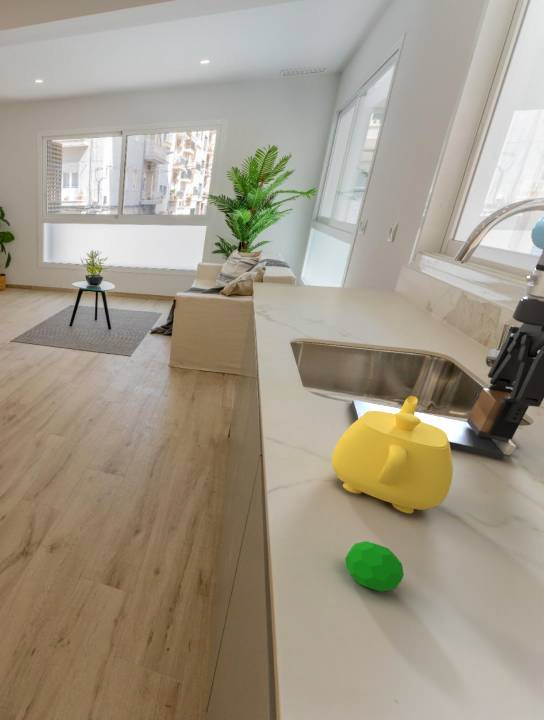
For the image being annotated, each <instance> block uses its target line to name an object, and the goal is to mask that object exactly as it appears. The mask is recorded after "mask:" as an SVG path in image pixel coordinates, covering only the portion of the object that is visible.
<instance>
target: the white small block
mask: <svg viewBox="0 0 544 720" xmlns="http://www.w3.org/2000/svg"><path fill="white" fill-rule="evenodd" d="M494 442H495V444H496V445H497V446H498V447H499V448H500V450H501V451H502V452H503V453H504V454H503V455H507V456H510V455H511V454H512V453H513V452H514V451H515V450H516V449H517V448H518V447H517V446H516V444H515V443H514V442H513V441H512V439H510V440H509V441H508V443H507V442H503V441H498V440H497V441H496V440H495V441H494Z"/></svg>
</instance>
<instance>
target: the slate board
mask: <svg viewBox="0 0 544 720" xmlns="http://www.w3.org/2000/svg"><path fill="white" fill-rule="evenodd" d="M350 406H351V410H352V414H353V418H354V422H356V421H357V420H358V419H359V418H360V417H361V416H362V415H364V414H365V413H366V412H368V411H372V410H374V411H383V412H388V413H393V414H395V413H397V412H399V411H400V410H401V408H398V407H397V408H396V407H392V406H386V405H382V404H377V403H372V402H367V401H362V400H357V399H352V401H351V404H350ZM415 416H417V417H418V418H420V419H421V421H422V422H425V423H428V424H431V425H433V426H436V427H438V428H440V429H442V430H443V431H444V432H445V433H446V434H447V436H448V440H449V444H450V449H451V450H454V451H459V452H463V453H468V454H472V455H476V456H481V457H485V458H490V459H494V460H498V461H502V458H503V457H504V455H505V454H504V453H503V452H502V451H501V450H500V448H499V447H498V446H497V445H496V444H495V442H496V441H495V440H494V439H489V438H485V437H480V436H477V435H476V433H475V432H474V431H473V429H472V428H471V427H470V425H469V424H468V423H467V421H462V420H456V419H451V418H446V417H441V416H436V415H433V414H432V415H431V414H427V413H421V412H416V411H415Z"/></svg>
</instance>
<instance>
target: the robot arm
mask: <svg viewBox="0 0 544 720" xmlns="http://www.w3.org/2000/svg"><path fill="white" fill-rule="evenodd" d="M530 237H531V241H532V244H533V245H534V246H535V247H536V248H538V249H540V250H542V252H541V254H540V256H539V259H538V260H537V263H536V265H535V267H534V270H533V272H532V274H531V275H528V276H526V277H525V281H526V282H527V284H526V287H525V289H524V291H523V292H524V294H525V295H527V296H523V297H522V298H520V299H519V300H518V302H517V305H516V307H515V309H514V312H513V314H512V318H513V320H514V321H517V322H518V323H521V326H514V325H511V326H510V327H509V328H508V332H507V335H506V338H505V340H504V342H503V344H502V346H501V348H500V350H499V352H498V354H497V356H496V357H495V360H494V362H493V364H492V366H491V368H490V370H489V371H488V373H487V378H489V379H490V380H489V384H490V385H489V388H488V389H490V390H496V391H501V392H506V393H511V396H510V398H503V401H504V403H503V405H502V407H501V409H500V411H499V413H498V415H497V417H496V419H495V421H494V423H493V425H492V427H491V429H490V431H489V434H490V435H494V436H498V437H503V438H508V439H510V440H512V439H513V437H514V436H515V434H516V431H517V430H518V428H519V426H520V424H521V422H522V420H523V418H524V417H525V415H526V413H527V410H528V409H529V407H535V408H539V407H540V406H541V405H542V402H543V400H544V215H542V216H541V217H540V218H539V219H538V220H537V221H536V222H535V224H534V225H533V227H532V230H531V235H530Z"/></svg>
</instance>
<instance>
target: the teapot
mask: <svg viewBox="0 0 544 720" xmlns="http://www.w3.org/2000/svg"><path fill="white" fill-rule="evenodd" d="M418 399H419V398H417V396H415V395H409V396H407V398H406V399H405V401H404V402H403V404H402V406H401V408H400V409H401V410H400V411H399V412H397V413H395V414H393V413H388V412H383V411H374V410H372V411H368V412H366V413H365V414H364V415H362V416H361V417H360V418H359V419H358V420H357V421H356V422H355V421H354V422H353V423H351V425H350V426H349V427H348V428H347V429H346V430H345V431H344V432H343V434H341V437H340V438H339V439H338V441H337V443H336V445H335V446H334V449H333V452H332V453H331V454H332V455H331V466H332V468H333V471H334V473H335V475H336V477H337V478H338V479H339V480H340V481H342V482H343V484H342V487H343V488H344V490H346V491H348V492H350V493H353V494H356V495H357V494H362V493H363V494H366V495H369V496H371V497H373V498H375V499H378V500H382V501H384V502H387V503H390V504H391V505H392V506H393V508H394V509H396V510H398V511H399V512H402V513H405V514H413V513H414V512H415V510H420V511H421V510H429V509H432V508H434V507H436V506H438V505H440V504H442V503H443V502H444V501H445V499H446V498H447V497H448V494H449V491H450V488H451V485H452V481H453V474H454V473H453V472H454V464H453V457H452V455H453V454H452V449H450V444H449V440H448V436H447V434H446V433H445V432H444V431H443V430H442V429H440V428H438V427H436V426H433V425H431V424H428V423H425V422H422V421H421V419H420V418H418V417H417V416H415V412H416V410H417V406H418V402H419V400H418Z"/></svg>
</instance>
